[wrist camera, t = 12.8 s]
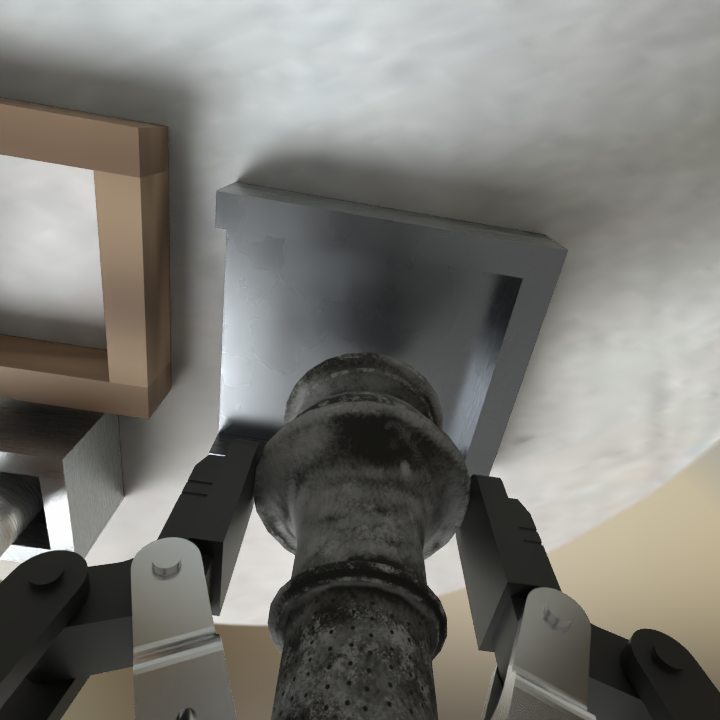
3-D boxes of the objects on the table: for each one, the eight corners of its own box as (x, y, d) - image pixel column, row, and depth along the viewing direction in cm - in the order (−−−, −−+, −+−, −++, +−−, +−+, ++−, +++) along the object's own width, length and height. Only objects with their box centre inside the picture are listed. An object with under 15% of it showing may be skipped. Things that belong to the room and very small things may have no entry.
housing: (-16, 380, 22) (-100, 437, 18) (117, 399, 23) (62, 459, 19) (5, 481, 25) (-65, 551, 21) (124, 497, 25) (76, 569, 21)
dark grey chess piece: (327, 512, 18) (261, 1086, 7) (241, 387, 16) (-33, 949, 5) (477, 457, 17) (663, 1050, 6) (408, 313, 15) (509, 849, 4)
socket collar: (-150, 71, 17) (-229, 64, 15) (168, 126, 18) (138, 127, 15) (-77, 352, 22) (-128, 379, 20) (171, 389, 22) (148, 419, 20)
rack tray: (235, 181, 18) (216, 190, 16) (544, 234, 19) (567, 250, 17) (223, 441, 24) (208, 475, 21) (466, 476, 24) (475, 512, 22)
